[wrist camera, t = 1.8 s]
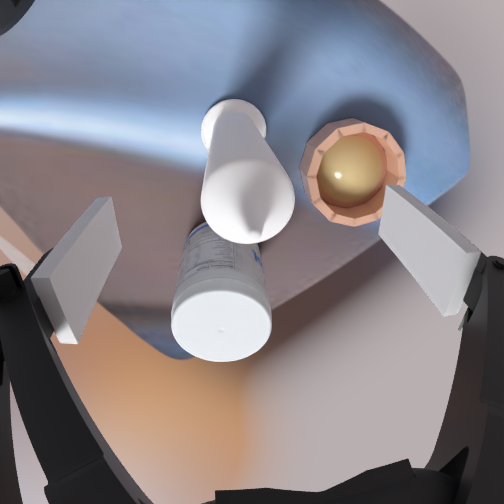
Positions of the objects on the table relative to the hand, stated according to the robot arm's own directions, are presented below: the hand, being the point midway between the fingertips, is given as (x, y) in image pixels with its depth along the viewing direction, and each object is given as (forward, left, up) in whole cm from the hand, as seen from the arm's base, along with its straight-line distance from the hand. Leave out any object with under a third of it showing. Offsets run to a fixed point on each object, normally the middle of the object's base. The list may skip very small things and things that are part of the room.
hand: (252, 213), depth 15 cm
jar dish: (+8, +12, -22) cm, 26 cm away
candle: (0, 0, -23) cm, 23 cm away
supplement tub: (+14, -6, -23) cm, 27 cm away
